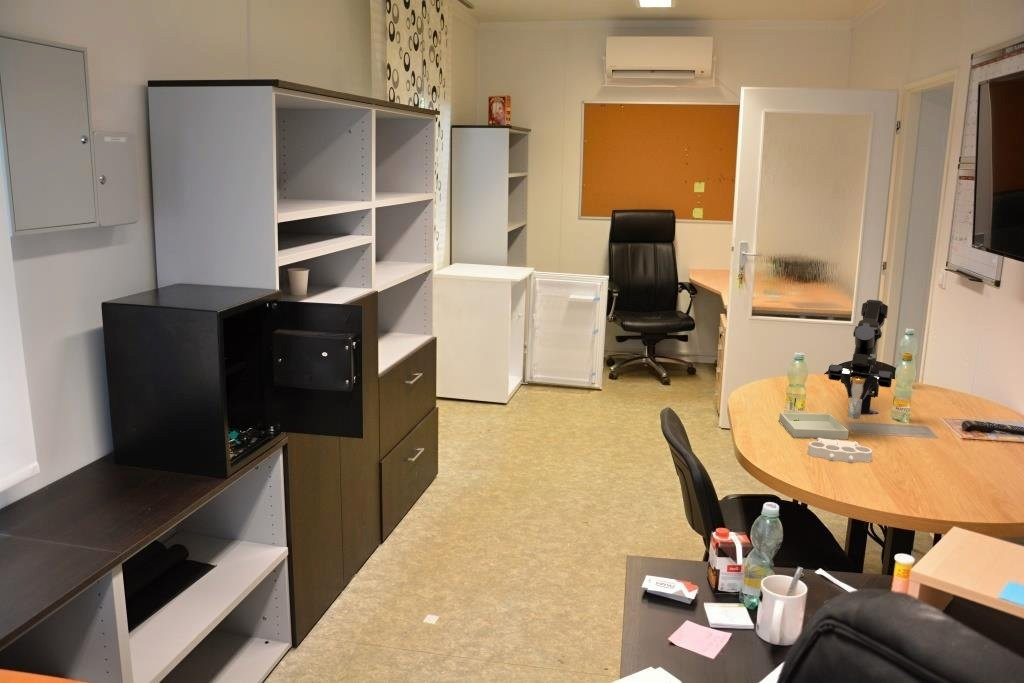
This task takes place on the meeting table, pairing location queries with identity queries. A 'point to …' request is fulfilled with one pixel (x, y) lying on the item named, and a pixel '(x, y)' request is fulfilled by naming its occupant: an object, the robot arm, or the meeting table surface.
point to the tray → (813, 426)
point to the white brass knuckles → (839, 450)
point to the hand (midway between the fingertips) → (855, 398)
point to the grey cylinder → (856, 397)
